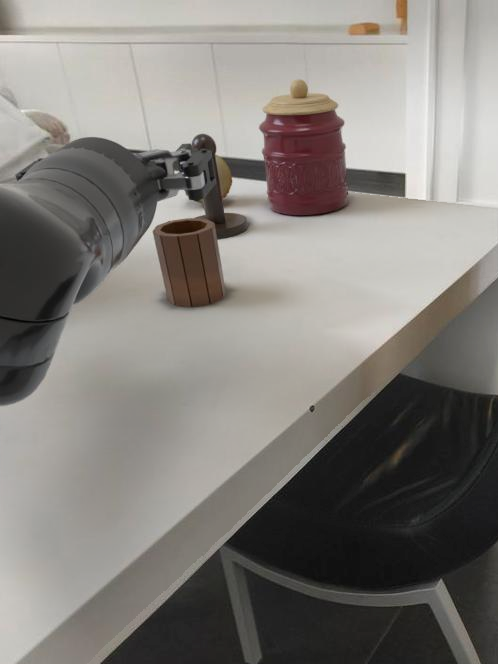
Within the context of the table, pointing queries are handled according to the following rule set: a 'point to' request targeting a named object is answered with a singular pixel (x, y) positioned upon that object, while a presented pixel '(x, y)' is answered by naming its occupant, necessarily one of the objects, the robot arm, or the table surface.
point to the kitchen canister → (304, 153)
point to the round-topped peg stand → (218, 198)
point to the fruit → (223, 177)
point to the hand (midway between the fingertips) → (140, 159)
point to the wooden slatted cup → (190, 262)
